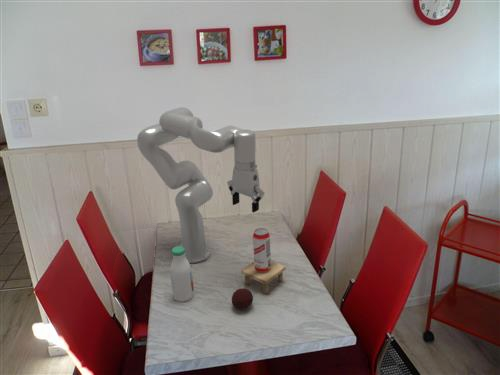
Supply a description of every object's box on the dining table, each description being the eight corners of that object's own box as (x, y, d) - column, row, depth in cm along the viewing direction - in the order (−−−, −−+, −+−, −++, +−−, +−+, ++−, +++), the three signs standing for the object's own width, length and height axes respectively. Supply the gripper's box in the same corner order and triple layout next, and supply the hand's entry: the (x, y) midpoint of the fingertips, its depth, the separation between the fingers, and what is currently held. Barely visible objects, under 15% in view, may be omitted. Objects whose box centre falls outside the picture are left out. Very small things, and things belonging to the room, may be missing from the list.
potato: (257, 307, 144) (256, 290, 142) (240, 317, 140) (239, 300, 137) (244, 297, 150) (243, 281, 147) (227, 306, 145) (226, 290, 143)
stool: (241, 284, 157) (241, 270, 155) (261, 270, 166) (260, 256, 163) (266, 296, 150) (266, 281, 147) (285, 280, 158) (285, 266, 156)
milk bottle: (190, 303, 148) (184, 255, 140) (170, 301, 150) (163, 254, 142) (197, 290, 155) (191, 244, 147) (177, 288, 157) (171, 242, 149)
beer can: (266, 275, 151) (264, 237, 145) (251, 270, 154) (249, 233, 148) (274, 266, 156) (272, 229, 150) (260, 262, 159) (258, 225, 153)
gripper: (270, 167, 144) (269, 210, 151) (234, 156, 155) (235, 197, 162) (256, 173, 139) (256, 217, 146) (220, 162, 150) (222, 204, 157)
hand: (245, 207), depth 154 cm, fingers open, 9 cm apart
